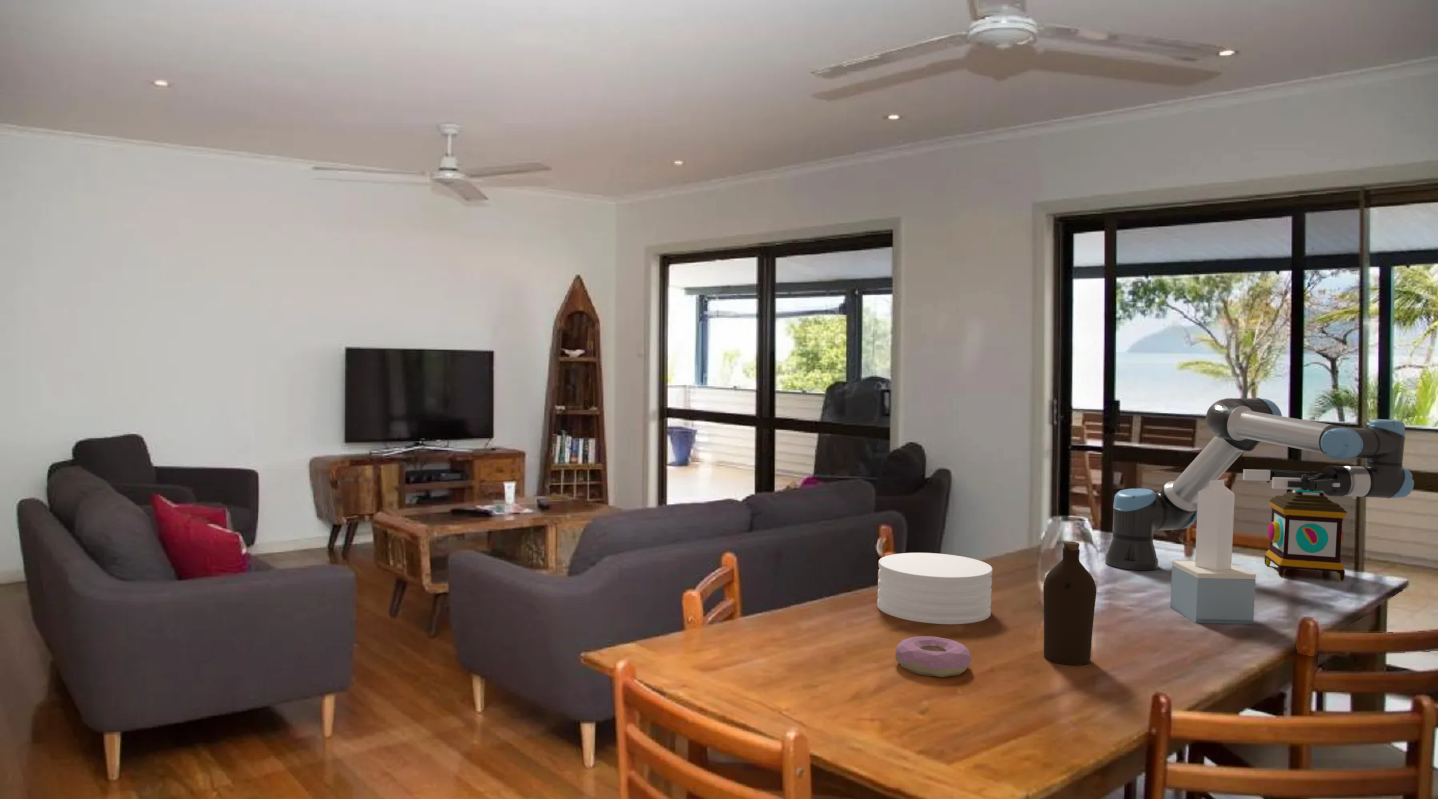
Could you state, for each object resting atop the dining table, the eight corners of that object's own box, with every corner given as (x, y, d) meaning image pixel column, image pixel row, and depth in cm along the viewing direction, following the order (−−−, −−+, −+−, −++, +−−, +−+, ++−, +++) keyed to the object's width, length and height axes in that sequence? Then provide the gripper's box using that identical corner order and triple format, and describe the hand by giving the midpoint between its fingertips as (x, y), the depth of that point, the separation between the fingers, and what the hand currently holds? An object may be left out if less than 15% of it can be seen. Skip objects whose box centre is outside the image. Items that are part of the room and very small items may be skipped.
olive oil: (1102, 666, 206) (1107, 547, 205) (1053, 666, 205) (1058, 547, 203) (1079, 650, 216) (1083, 537, 215) (1032, 651, 215) (1037, 537, 214)
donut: (879, 666, 203) (880, 642, 203) (921, 651, 214) (922, 628, 214) (944, 686, 192) (945, 660, 192) (985, 669, 203) (986, 645, 203)
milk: (1194, 566, 249) (1197, 479, 248) (1209, 564, 252) (1212, 478, 251) (1217, 571, 243) (1220, 482, 242) (1232, 568, 246) (1235, 480, 245)
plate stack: (861, 613, 244) (863, 567, 243) (896, 590, 268) (898, 548, 268) (975, 631, 230) (977, 582, 230) (1001, 604, 255) (1003, 560, 255)
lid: (1226, 566, 254) (1226, 561, 254) (1255, 579, 240) (1255, 574, 240) (1172, 565, 255) (1172, 560, 255) (1197, 578, 241) (1198, 573, 241)
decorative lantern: (1329, 569, 307) (1334, 473, 305) (1351, 583, 288) (1357, 481, 286) (1258, 564, 312) (1262, 469, 311) (1275, 577, 293) (1280, 477, 291)
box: (1224, 609, 255) (1226, 566, 254) (1253, 624, 241) (1255, 579, 240) (1170, 607, 255) (1172, 565, 255) (1195, 622, 241) (1197, 578, 241)
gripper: (1375, 505, 233) (1284, 502, 234) (1313, 488, 258) (1231, 485, 259) (1377, 473, 233) (1287, 470, 233) (1315, 459, 258) (1233, 457, 258)
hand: (1257, 478), depth 246 cm, fingers open, 13 cm apart
